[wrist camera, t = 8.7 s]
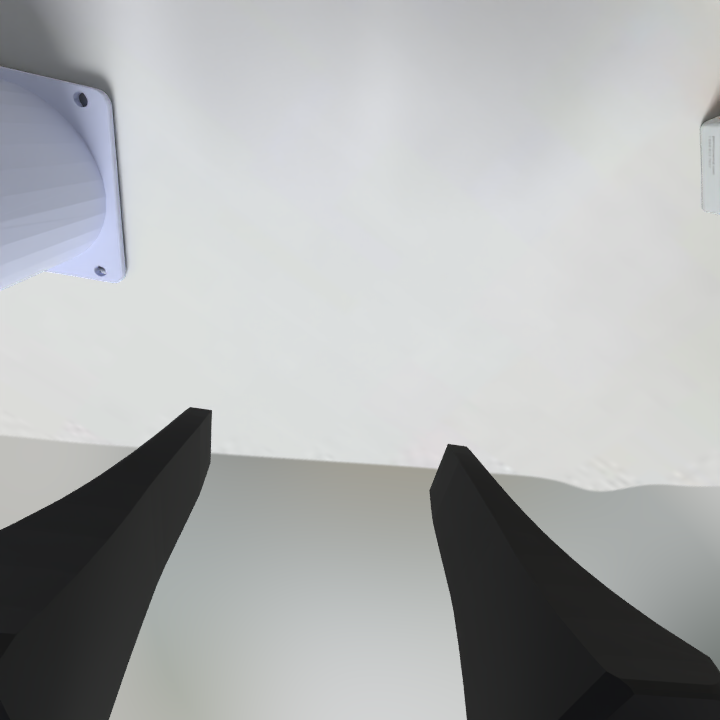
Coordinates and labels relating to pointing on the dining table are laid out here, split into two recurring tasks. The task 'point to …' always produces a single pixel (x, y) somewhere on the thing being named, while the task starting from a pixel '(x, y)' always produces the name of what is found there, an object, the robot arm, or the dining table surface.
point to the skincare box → (710, 165)
